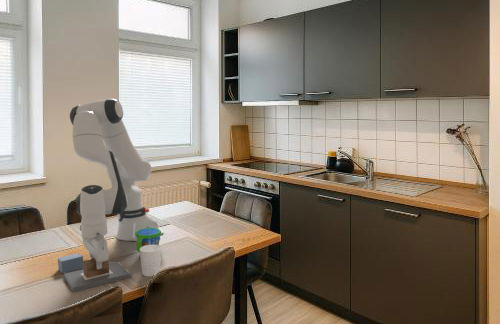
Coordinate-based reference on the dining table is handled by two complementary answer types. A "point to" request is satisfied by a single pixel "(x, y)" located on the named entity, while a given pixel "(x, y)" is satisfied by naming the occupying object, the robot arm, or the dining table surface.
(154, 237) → the snack cup
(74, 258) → the blue brick
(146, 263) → the white cup
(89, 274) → the walnut brick
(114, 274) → the baseplate
